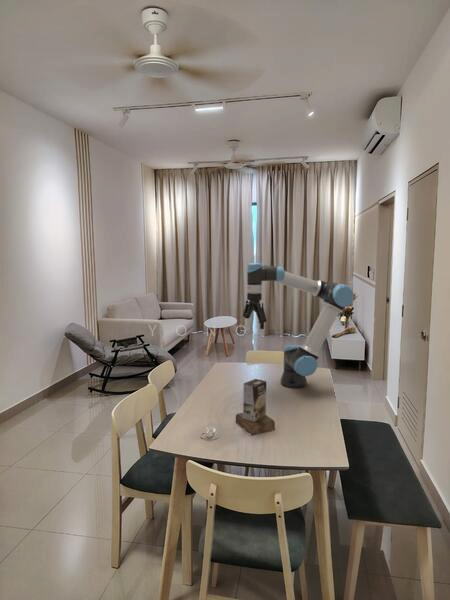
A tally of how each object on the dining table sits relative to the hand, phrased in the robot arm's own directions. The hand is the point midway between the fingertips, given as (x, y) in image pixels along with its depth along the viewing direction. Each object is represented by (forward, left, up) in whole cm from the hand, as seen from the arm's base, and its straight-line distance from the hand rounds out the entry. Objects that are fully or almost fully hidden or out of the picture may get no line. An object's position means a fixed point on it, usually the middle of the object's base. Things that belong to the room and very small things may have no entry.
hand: (254, 332), depth 202 cm
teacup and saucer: (+37, +31, -35) cm, 60 cm away
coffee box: (+18, +31, -31) cm, 47 cm away
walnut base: (+18, +31, -35) cm, 50 cm away
